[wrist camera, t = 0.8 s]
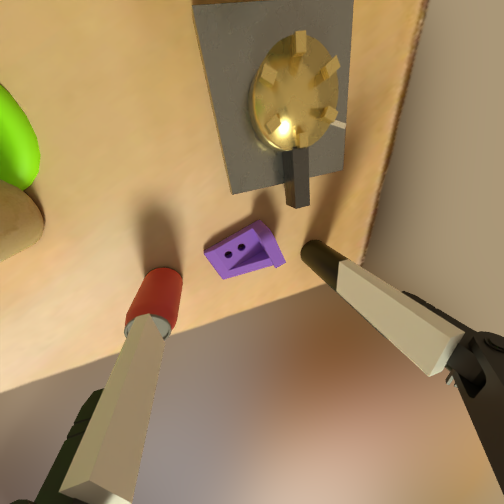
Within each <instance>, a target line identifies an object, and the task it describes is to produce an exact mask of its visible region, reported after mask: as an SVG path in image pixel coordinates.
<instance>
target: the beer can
mask: <svg viewBox="0 0 504 504" xmlns="http://www.w3.org/2000/svg"><path fill="white" fill-rule="evenodd" d="M182 285H183V282H182V278H181V276H180V274H178V273H177V272H176V271H175V270H173V269H170V268H165V267H164V268H157V269H154V270H152V271H150V272H149V273H148V274H147V275H146V277H145V278H144V280H143V282H142V284H141V286H140V288H139V290H138V292H137V294H136V296H135V298H134V300H133V302H132V304H131V306H130V308H129V310H128V312H127V314H126V321H125V330H124V334H125V337H126V338H127V336H128V333H129V331H130V329H131V327H132V324H133V322H134V320H135V318H136V317H137V316H141V315H145V314H148V313H149V314H150V316H151V318H152V319H153V321H154V323H155V325H156V327H157V329H158V330H159V332H160V334H161V336H162V338H163V339H164V341H165V340H166V339H167V338H168V337H169V336H170V334H171V331H172V329H173V328H174V326H175V324H176V321H177V317H178V310H179V304H180V298H181V291H182Z"/></svg>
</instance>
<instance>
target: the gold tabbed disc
mask: <svg viewBox="0 0 504 504" xmlns="http://www.w3.org/2000/svg"><path fill="white" fill-rule="evenodd" d="M340 67H341V66H340V63H339V61H338V58H337V55H335V56H334V57H333V58H332V57H331V55H330V54H329V52H328V51H327V49H326V48H325V47H324V45H322V44H321V43H320V42H319V41H318V40H316V39H315V38H313V37H311V36H309V35H306V30H303V31H295V33H294V34H293V35H290V36H287V37H285V38H283V39H282V40H280V41H278V42H277V43H276V44H275V45H274V46H273V47H272V48H271V50H270V51H269V52H268V54H267V55H266V57H265V58H264V60H263V62H262V63H261V65H260V67H259V68H258V70H257V72H256V74H255V76H254V78H253V80H252V83H251V87H250V91H249V99H248V108H249V116H250V120H251V123H252V126H253V129H254V131H255V133H256V134H257V136H258V137H259V139H260V140H261V141H262V142H263V143H264V144H265V145H266V146H268V147H269V148H271V149H273V150H276V151H280V152H282V157H283V170H284V182H285V195H286V205H289V206H291V207H293V208H295V209H297V208H301V207H305V206H309V205H310V193H309V146H311V145H312V144H314V143H315V142H317V141H318V140H319V139H320V138H321V137H322V136H323V135H324V133H325V132H326V131H327V129H328V127H329V126H330V124H331V123H334V121H335V119H336V117H337V114H338V111H337V110H336V107H337V101H338V77H337V70H338V69H339V68H340Z"/></svg>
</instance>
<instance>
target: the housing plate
mask: <svg viewBox="0 0 504 504" xmlns="http://www.w3.org/2000/svg"><path fill="white" fill-rule="evenodd" d="M353 3H354V0H268V1H252V2H237V3H222V4H206V5H192V18H193V23H194V28H195V32H196V37H197V41H198V46H199V50H200V55H201V59H202V64H203V69H204V73H205V78H206V82H207V87H208V91H209V96H210V100H211V105H212V109H213V114H214V119H215V123H216V128H217V132H218V137H219V141H220V146H221V150H222V155H223V160H224V164H225V169H226V173H227V178H228V182H229V187H230V191H231V194H232V195H234V194H238V193H243V192H247V191H252V190H256V189H260V188H265V187H269V186H274V185H278V184H283V183H285V182H284V170H283V157H282V152H280V151H276V150H273V149H271V148H269V147H268V146H266V145H265V144H264V143H263V142H262V141H261V140H260V139H259V137H258V136H257V134H256V133H255V131H254V129H253V126H252V123H251V120H250V116H249V108H248V99H249V91H250V87H251V83H252V80H253V78H254V76H255V74H256V72H257V70H258V68H259V67H260V65H261V63H262V62H263V60H264V58H265V57H266V55H267V54H268V52H269V51H270V50H271V48H272V47H273V46H274V45H275V44H276V43H277V42H278V41H280V40H282V39H283V38H285V37H287V36H290V35H293V34H294V33H295V31H303V30H306V35H309V36H311V37H313V38H315V39H316V40H318V41H319V42H320V43H321V44H322V45H324V47H325V48H326V49H327V51H328V52H329V54H330V55H331V57H332V58H333V57H334V56H335V55H337V58H338V61H339V63H340V66H341V67H340V68H339V69H338V70H337V77H338V101H337V107H336V110H337V111H338V114H337V117H336V119H335V121H334V123H331V124H330V126H329V127H328V129H327V131H326V132H325V133H324V135H323V136H322V137H321V138H320V139H319V140H318V141H317V142H315V143H314V144H312V145H311V146H309V177H314V176H318V175H323V174H327V173H332V172H336V171H341V170H343V163H344V147H345V131H346V115H347V99H348V83H349V67H350V51H351V35H352V19H353Z"/></svg>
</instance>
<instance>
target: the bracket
mask: <svg viewBox="0 0 504 504" xmlns="http://www.w3.org/2000/svg"><path fill="white" fill-rule="evenodd" d="M239 244H244V246H243V247H241V248H238V245H239ZM227 251H231V254H229V255H225V252H227ZM204 255H205V256H206V257H207V259H208V260H209V262H210V263H211V264H212V266H213V267H214V268H215V270H216V271H217V272H218V274H219V275H220V276H221V278H222V279H227V278H230V277H234V276H237V275H241V274H244V273H248V272H251V271H255V270H258V269H261V268H265V267H268V266H272V265H274V267H275V268H277V267H279V266H281V265H282V264H284V263H286V262H285V259H284V257H283V255H282V253H281V251H280V248H279V246H278V244H277V242H276V240H275V238H274V236H273V234H272V232H271V231H270V229H269V228H268V227H267V226H266V225H265V224H264V223H263V222H262V221H261V220H260V219H259V220H257V221H255V222H254V223H252V224H250V225H248V226H247V227H245V228H243V229H241V230H240V231H238V232H236V233H234V234H233V235H231V236H229V237H227V238H226V239H224V240H222V241H220V242H219V243H217V244H215V245H213V246H212V247H210V248H208V249H206V250H204Z"/></svg>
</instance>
